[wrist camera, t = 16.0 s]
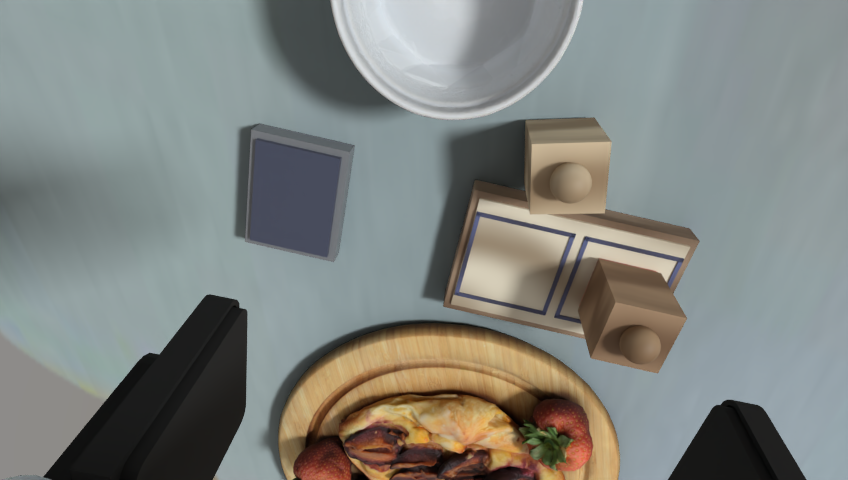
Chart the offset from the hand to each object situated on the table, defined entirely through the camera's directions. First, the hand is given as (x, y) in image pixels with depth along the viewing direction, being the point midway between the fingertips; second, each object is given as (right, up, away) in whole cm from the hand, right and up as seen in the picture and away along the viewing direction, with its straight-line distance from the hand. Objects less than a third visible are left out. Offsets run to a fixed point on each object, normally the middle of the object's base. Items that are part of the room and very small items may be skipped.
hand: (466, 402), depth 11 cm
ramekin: (+1, +19, +23) cm, 30 cm away
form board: (+10, +1, +31) cm, 32 cm away
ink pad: (-10, +7, +30) cm, 33 cm away
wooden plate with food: (+1, -17, +42) cm, 45 cm away
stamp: (+13, 0, +29) cm, 32 cm away
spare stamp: (+8, +10, +27) cm, 30 cm away
